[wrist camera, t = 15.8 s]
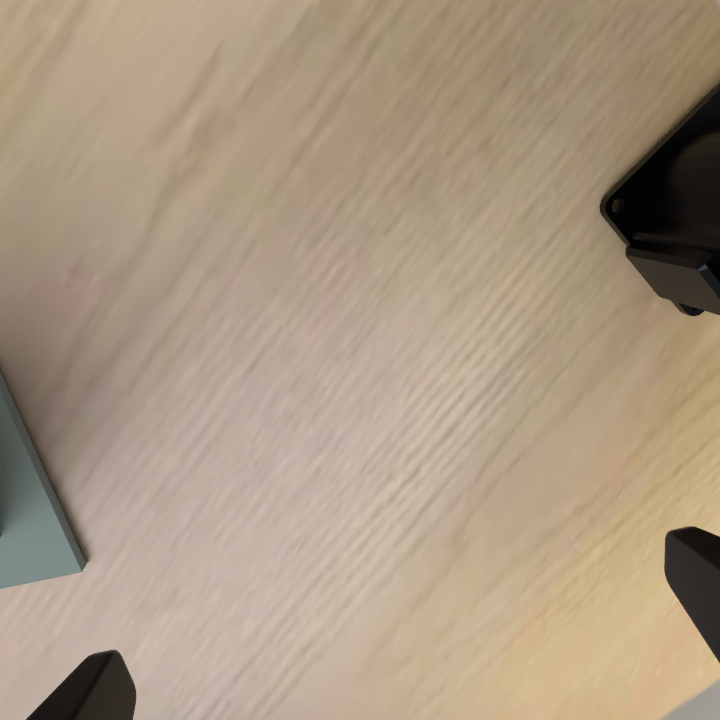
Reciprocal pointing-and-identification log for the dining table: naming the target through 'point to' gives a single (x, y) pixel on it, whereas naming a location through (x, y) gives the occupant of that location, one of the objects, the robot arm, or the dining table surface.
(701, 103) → the robot arm
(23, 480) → the rubber pad
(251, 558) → the dining table surface
